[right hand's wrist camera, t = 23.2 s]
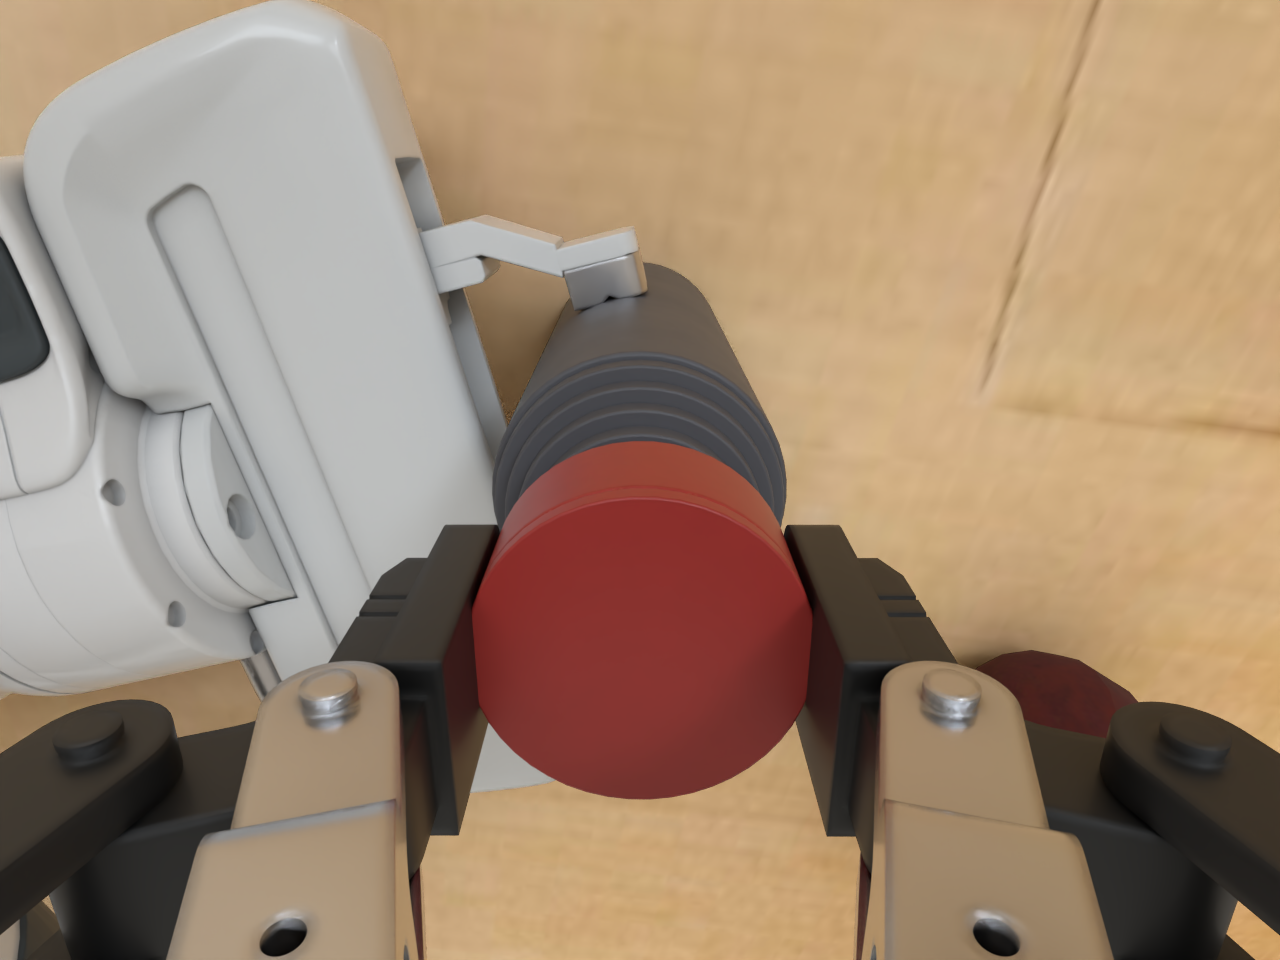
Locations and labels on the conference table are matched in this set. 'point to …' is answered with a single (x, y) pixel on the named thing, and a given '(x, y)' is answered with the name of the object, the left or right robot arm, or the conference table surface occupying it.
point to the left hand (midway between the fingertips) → (672, 386)
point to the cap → (641, 624)
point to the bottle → (639, 392)
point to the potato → (1059, 691)
